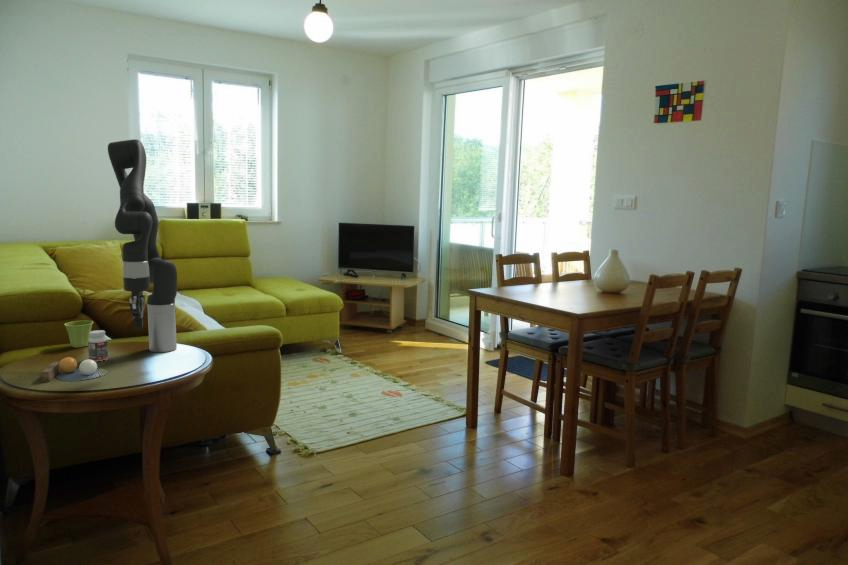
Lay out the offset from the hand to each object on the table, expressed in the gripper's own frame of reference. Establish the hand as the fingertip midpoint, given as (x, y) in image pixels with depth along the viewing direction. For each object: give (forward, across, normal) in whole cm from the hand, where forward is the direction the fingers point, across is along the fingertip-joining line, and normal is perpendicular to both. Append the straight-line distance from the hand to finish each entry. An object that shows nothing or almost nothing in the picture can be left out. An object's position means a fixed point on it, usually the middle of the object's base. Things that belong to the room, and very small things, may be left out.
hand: (138, 329), depth 197 cm
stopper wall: (+14, 0, -26) cm, 29 cm away
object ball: (+12, -3, -22) cm, 25 cm away
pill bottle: (+14, -17, -16) cm, 27 cm away
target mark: (+14, 0, -17) cm, 22 cm away
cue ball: (+12, +1, -15) cm, 19 cm away
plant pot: (+14, -39, -27) cm, 50 cm away
